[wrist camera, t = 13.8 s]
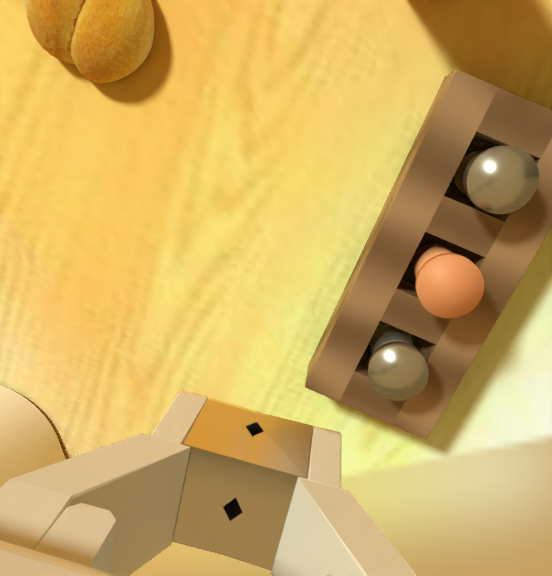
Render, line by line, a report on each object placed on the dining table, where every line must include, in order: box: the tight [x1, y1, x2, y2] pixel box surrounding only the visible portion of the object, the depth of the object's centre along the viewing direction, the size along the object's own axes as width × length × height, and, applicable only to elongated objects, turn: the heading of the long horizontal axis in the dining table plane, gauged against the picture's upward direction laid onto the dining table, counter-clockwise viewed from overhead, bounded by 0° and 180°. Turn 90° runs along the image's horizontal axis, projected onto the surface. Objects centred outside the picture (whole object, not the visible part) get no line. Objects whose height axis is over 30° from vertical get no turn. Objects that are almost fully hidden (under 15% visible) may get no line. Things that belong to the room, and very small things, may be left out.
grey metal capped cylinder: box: [368, 322, 429, 401], centre depth 38 cm, size 4×4×6 cm
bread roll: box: [25, 0, 154, 83], centre depth 36 cm, size 8×9×4 cm
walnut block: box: [305, 70, 552, 439], centre depth 37 cm, size 24×10×4 cm, turn 158°
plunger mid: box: [412, 243, 484, 318], centre depth 35 cm, size 4×4×6 cm
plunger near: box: [454, 146, 539, 214], centre depth 33 cm, size 4×4×6 cm
